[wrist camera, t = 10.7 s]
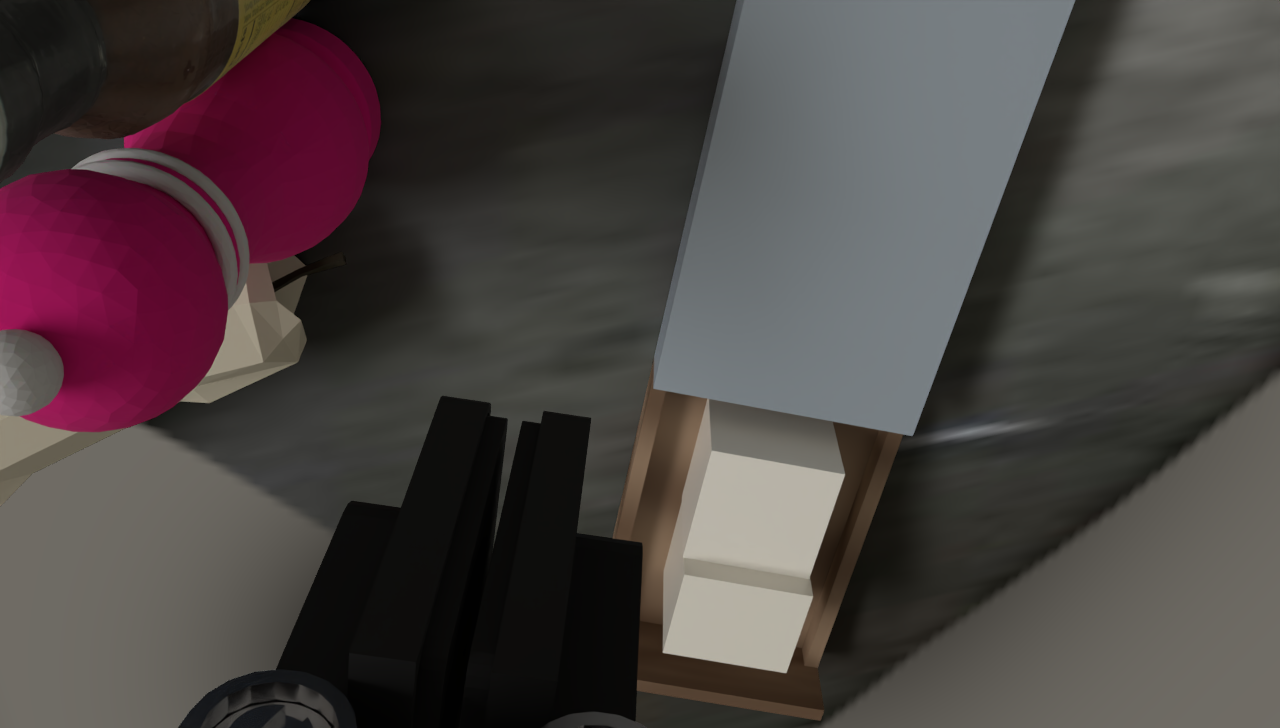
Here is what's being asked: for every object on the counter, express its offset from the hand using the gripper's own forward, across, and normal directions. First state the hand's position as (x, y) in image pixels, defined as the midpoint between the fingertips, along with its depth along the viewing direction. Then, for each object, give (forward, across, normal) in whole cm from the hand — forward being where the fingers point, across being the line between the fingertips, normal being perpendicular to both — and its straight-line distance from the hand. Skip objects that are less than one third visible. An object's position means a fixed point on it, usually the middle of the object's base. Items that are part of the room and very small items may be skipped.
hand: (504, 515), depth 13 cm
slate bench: (+28, -9, +4) cm, 30 cm away
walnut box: (+28, -8, +20) cm, 36 cm away
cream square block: (+25, -8, +20) cm, 33 cm away
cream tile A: (+28, -8, +17) cm, 34 cm away
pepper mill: (+29, +11, +6) cm, 31 cm away
